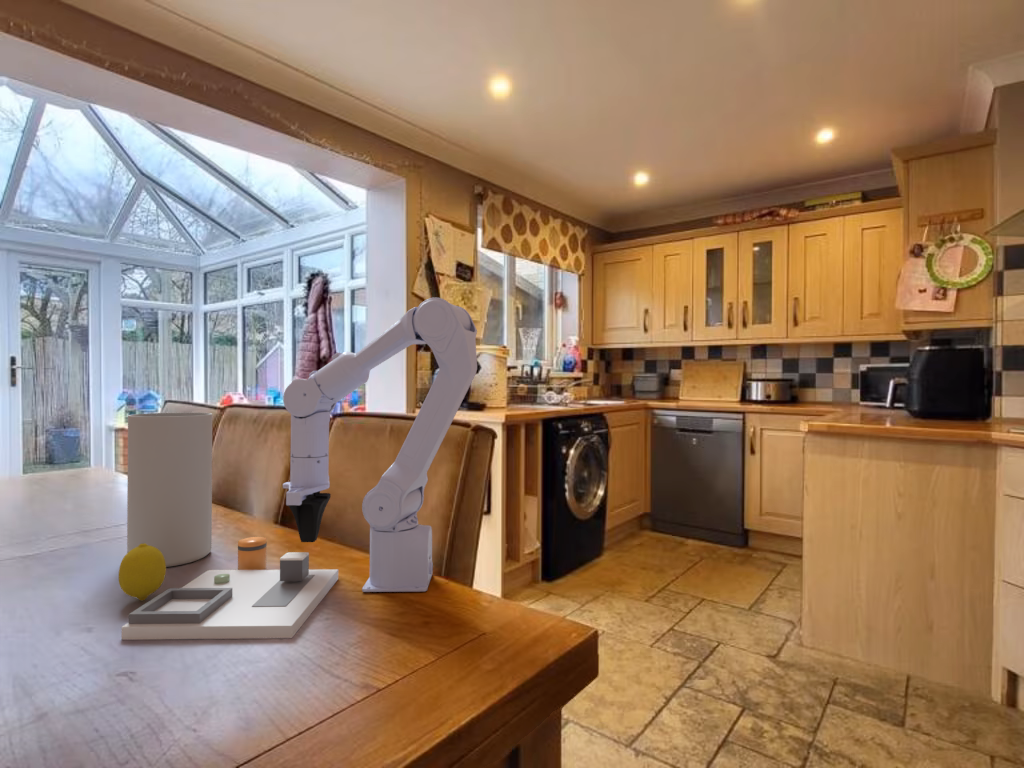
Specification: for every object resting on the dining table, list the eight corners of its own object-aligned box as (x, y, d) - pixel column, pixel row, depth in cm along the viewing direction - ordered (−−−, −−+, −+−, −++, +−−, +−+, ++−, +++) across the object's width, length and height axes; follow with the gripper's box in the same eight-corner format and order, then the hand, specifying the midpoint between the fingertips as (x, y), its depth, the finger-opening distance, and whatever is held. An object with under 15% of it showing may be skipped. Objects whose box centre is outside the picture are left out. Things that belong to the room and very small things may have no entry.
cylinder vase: (109, 563, 93) (110, 415, 93) (179, 543, 104) (179, 411, 104) (160, 574, 88) (161, 417, 88) (227, 551, 100) (228, 413, 99)
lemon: (142, 610, 74) (142, 550, 74) (108, 606, 75) (108, 547, 75) (175, 594, 79) (175, 539, 79) (142, 591, 81) (143, 536, 81)
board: (338, 578, 86) (338, 561, 86) (291, 638, 66) (291, 615, 66) (208, 579, 86) (208, 562, 86) (121, 639, 66) (121, 617, 66)
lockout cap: (270, 566, 92) (270, 536, 92) (259, 575, 88) (260, 544, 88) (244, 566, 92) (245, 536, 92) (232, 575, 87) (233, 544, 87)
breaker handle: (308, 574, 82) (308, 552, 82) (302, 581, 80) (302, 558, 80) (287, 574, 82) (287, 552, 82) (279, 581, 80) (280, 558, 80)
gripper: (300, 449, 95) (299, 528, 95) (265, 462, 80) (264, 555, 80) (341, 450, 95) (340, 528, 95) (314, 462, 80) (313, 555, 80)
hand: (308, 541), depth 88 cm, fingers closed
